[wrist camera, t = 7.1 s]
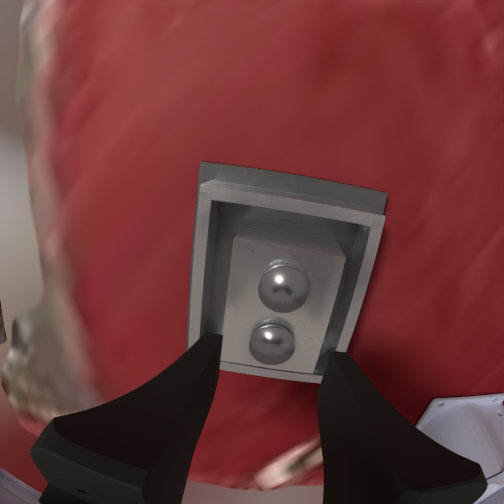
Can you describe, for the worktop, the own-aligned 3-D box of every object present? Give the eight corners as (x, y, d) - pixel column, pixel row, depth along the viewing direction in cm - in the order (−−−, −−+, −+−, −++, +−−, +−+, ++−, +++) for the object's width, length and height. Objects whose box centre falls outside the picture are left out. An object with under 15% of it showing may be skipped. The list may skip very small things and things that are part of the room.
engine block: (330, 228, 16) (348, 262, 12) (307, 325, 18) (313, 380, 14) (246, 214, 17) (231, 243, 12) (233, 313, 19) (217, 366, 14)
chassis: (384, 191, 16) (402, 200, 13) (334, 367, 20) (339, 395, 17) (203, 161, 17) (188, 164, 14) (188, 345, 21) (177, 371, 18)
